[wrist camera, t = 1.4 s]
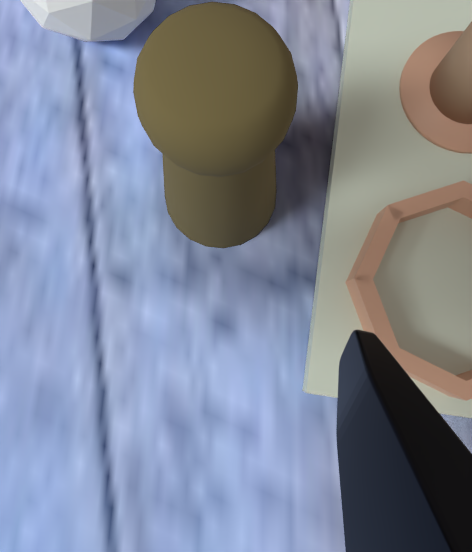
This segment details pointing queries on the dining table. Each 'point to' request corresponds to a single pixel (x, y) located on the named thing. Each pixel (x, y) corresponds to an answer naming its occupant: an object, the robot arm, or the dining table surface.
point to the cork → (217, 117)
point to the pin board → (400, 200)
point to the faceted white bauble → (90, 17)
